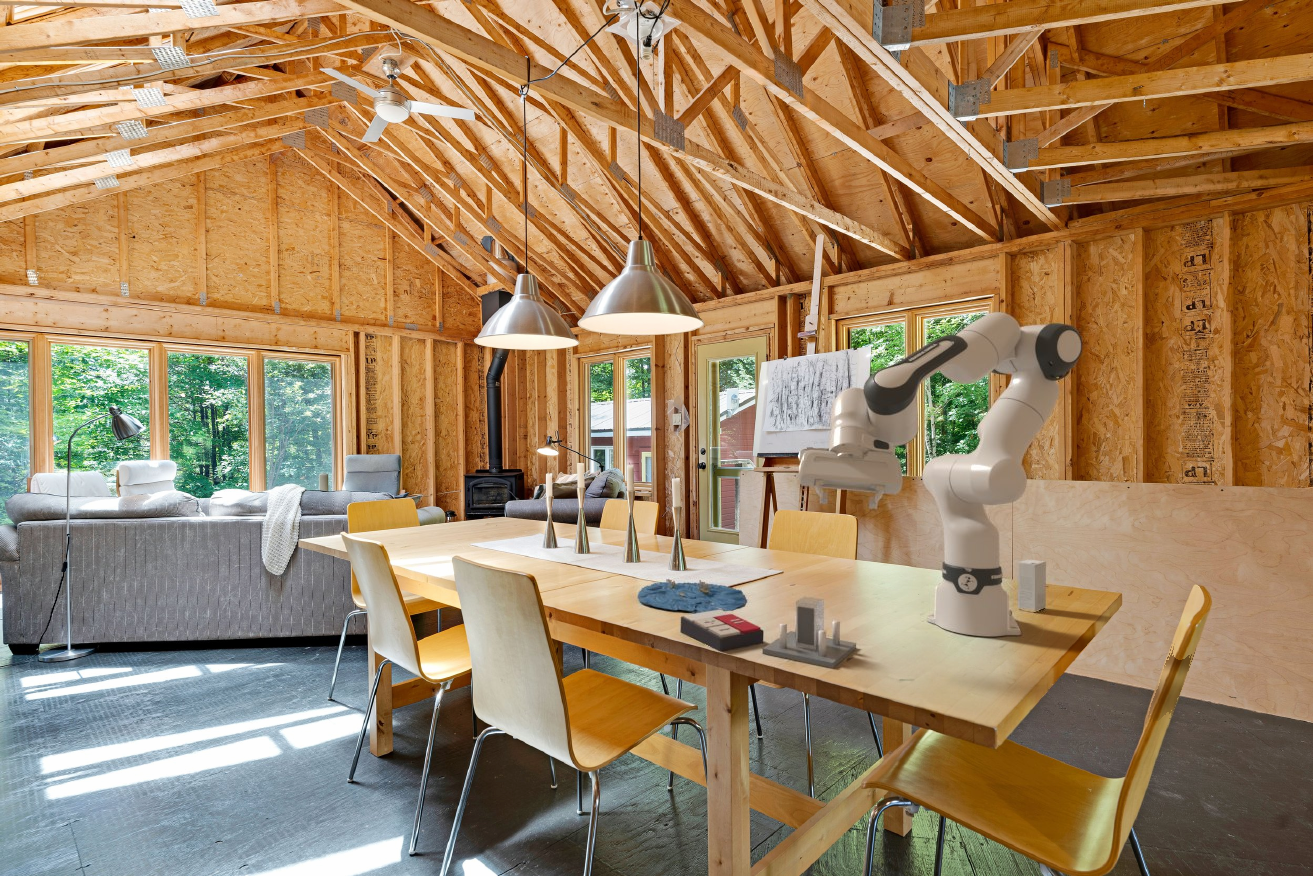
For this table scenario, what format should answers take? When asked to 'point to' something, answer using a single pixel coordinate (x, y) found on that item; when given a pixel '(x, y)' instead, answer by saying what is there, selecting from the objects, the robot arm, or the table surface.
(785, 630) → the pin tray
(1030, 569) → the skincare box
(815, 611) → the block
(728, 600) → the blue sea diorama
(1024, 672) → the table surface
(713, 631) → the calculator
